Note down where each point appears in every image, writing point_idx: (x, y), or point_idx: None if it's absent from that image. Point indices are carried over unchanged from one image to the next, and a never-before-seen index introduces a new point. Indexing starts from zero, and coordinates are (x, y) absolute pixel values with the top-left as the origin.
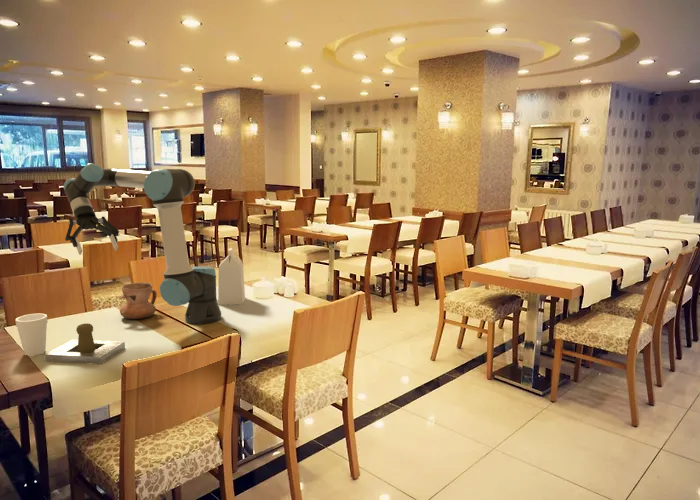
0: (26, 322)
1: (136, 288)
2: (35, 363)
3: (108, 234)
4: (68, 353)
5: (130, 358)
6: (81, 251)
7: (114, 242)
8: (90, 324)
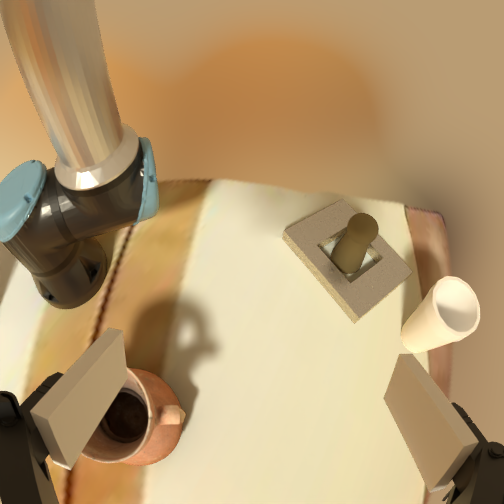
0: (462, 282)
1: (89, 447)
2: (418, 281)
3: (50, 489)
4: (380, 247)
5: (295, 195)
6: (399, 366)
7: (102, 354)
8: (354, 218)
